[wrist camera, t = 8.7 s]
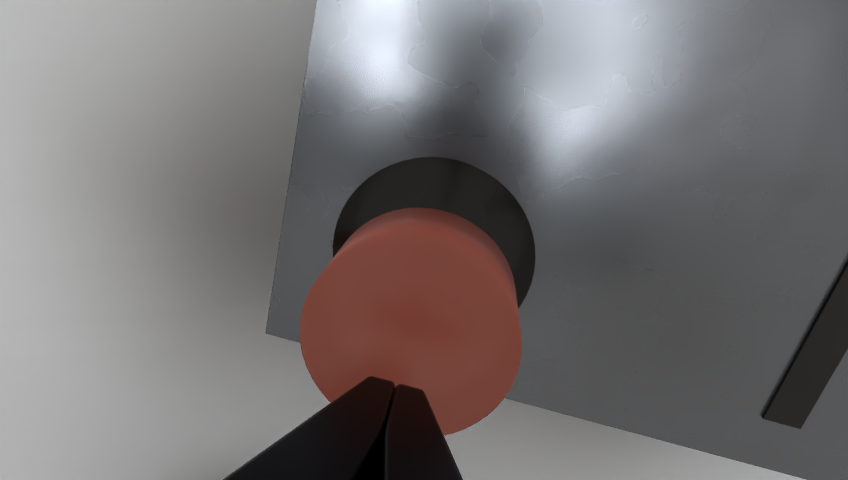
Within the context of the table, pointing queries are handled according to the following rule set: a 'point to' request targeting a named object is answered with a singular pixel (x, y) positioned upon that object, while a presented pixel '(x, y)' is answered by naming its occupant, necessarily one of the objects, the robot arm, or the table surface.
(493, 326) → the button
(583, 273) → the panel
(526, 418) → the table surface
